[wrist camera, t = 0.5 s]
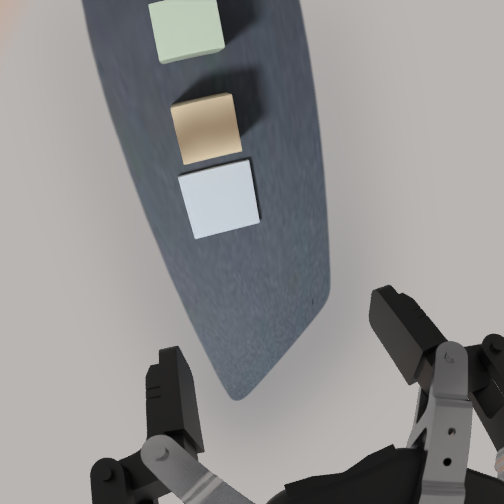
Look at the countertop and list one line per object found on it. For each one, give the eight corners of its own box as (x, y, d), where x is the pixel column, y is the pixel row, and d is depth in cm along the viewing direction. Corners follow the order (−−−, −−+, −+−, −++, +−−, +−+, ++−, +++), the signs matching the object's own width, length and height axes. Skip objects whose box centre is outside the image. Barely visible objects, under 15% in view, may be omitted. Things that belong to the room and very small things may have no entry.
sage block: (153, 16, 21) (148, 4, 17) (208, 4, 22) (214, -9, 18) (162, 64, 24) (159, 61, 20) (217, 52, 24) (225, 47, 20)
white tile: (178, 176, 30) (178, 177, 29) (248, 159, 30) (248, 160, 30) (194, 237, 34) (195, 239, 33) (258, 221, 34) (259, 222, 34)
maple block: (171, 104, 26) (170, 108, 23) (224, 92, 27) (231, 94, 23) (183, 153, 29) (184, 164, 26) (234, 141, 29) (242, 151, 26)
